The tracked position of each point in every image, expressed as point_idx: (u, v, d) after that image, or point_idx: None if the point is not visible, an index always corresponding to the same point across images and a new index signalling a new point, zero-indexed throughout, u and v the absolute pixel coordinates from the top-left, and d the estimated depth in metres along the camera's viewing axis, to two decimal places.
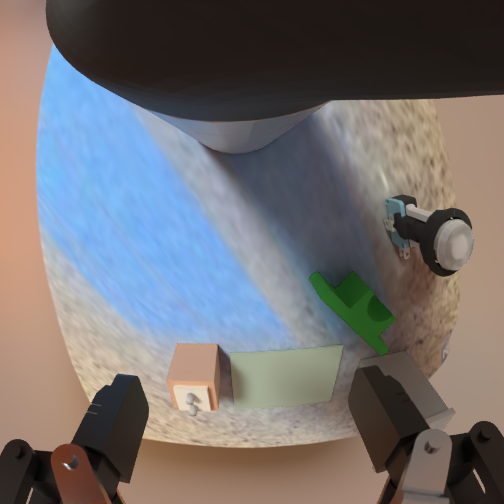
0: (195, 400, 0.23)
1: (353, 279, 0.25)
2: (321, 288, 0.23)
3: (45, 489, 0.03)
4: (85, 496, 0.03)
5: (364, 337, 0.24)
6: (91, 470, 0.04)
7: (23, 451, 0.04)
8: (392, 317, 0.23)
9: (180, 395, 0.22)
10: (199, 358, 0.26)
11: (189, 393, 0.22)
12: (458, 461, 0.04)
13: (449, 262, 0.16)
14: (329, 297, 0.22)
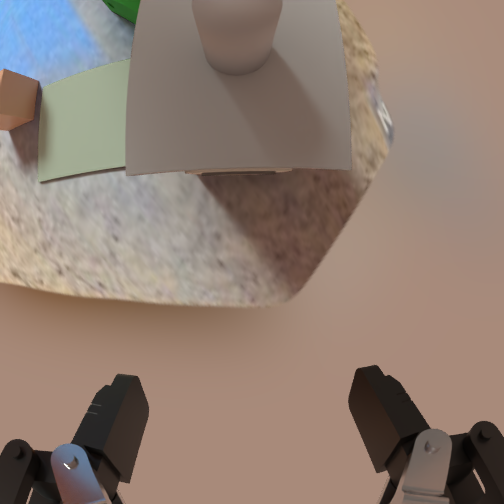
0: None
1: None
2: None
3: (45, 489, 0.03)
4: (85, 496, 0.03)
5: None
6: (91, 470, 0.04)
7: (23, 451, 0.04)
8: None
9: None
10: None
11: None
12: (458, 461, 0.04)
13: None
14: None
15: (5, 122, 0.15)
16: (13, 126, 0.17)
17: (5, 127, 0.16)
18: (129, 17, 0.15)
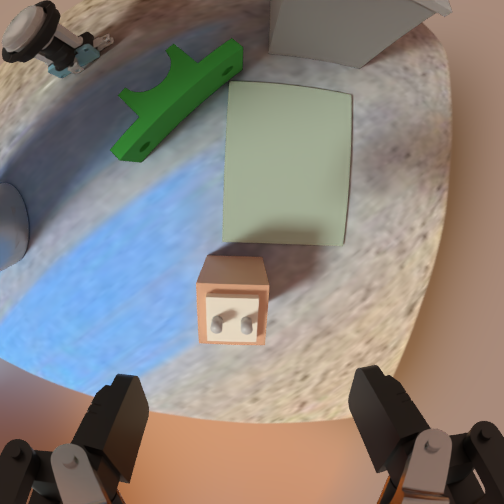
0: (230, 316, 0.17)
1: None
2: None
3: (45, 489, 0.03)
4: (85, 496, 0.03)
5: (192, 82, 0.15)
6: (91, 470, 0.04)
7: (23, 451, 0.04)
8: (168, 50, 0.14)
9: (219, 334, 0.17)
10: None
11: (212, 322, 0.17)
12: (458, 461, 0.04)
13: (23, 30, 0.07)
14: (119, 148, 0.16)
15: None
16: None
17: None
18: (174, 121, 0.18)
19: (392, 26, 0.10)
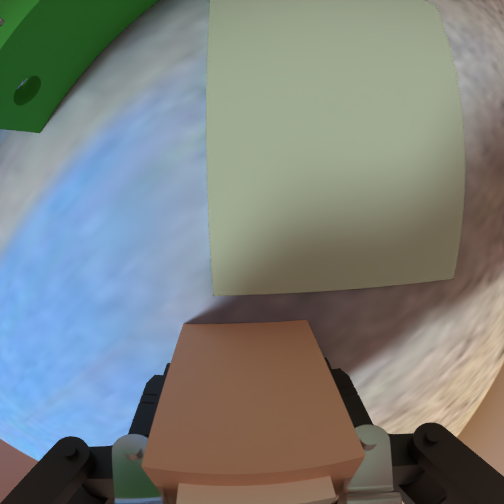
0: None
1: None
2: None
3: (93, 490, 0.04)
4: (142, 490, 0.04)
5: None
6: None
7: (77, 449, 0.04)
8: None
9: None
10: None
11: None
12: (399, 462, 0.05)
13: None
14: None
15: None
16: None
17: None
18: (93, 29, 0.05)
19: None
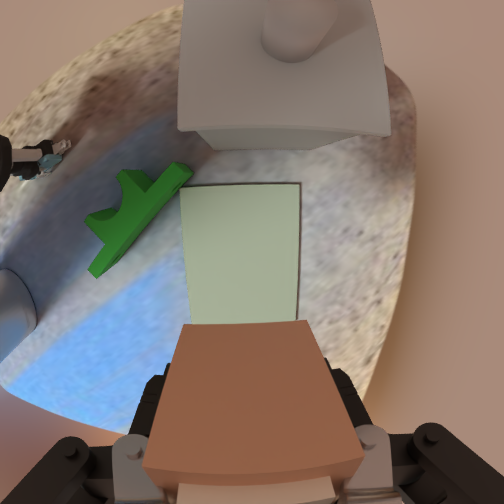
0: None
1: None
2: None
3: (94, 490, 0.04)
4: (142, 490, 0.04)
5: (143, 214, 0.18)
6: None
7: (78, 449, 0.04)
8: (118, 177, 0.17)
9: None
10: None
11: None
12: (399, 462, 0.05)
13: None
14: (94, 269, 0.19)
15: None
16: None
17: None
18: (137, 234, 0.22)
19: (327, 137, 0.14)
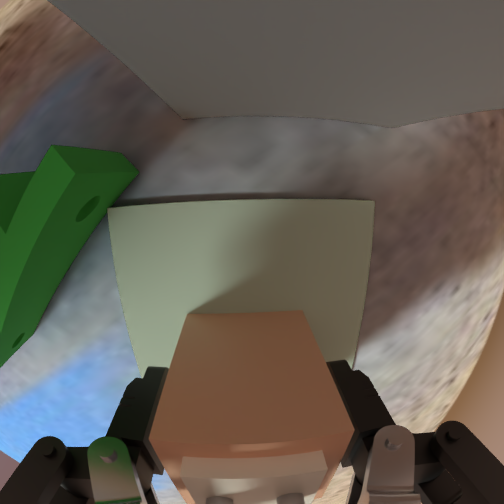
0: (250, 497, 0.05)
1: None
2: None
3: (74, 488, 0.04)
4: (119, 491, 0.04)
5: (11, 284, 0.05)
6: (133, 461, 0.05)
7: (56, 448, 0.04)
8: None
9: None
10: None
11: None
12: (423, 460, 0.04)
13: None
14: None
15: None
16: None
17: None
18: (40, 301, 0.09)
19: None
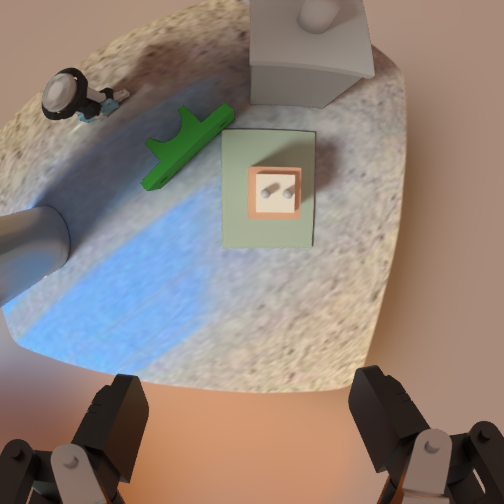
0: (274, 189, 0.22)
1: None
2: None
3: (45, 489, 0.03)
4: (85, 496, 0.03)
5: (197, 138, 0.23)
6: (91, 470, 0.04)
7: (23, 451, 0.04)
8: (180, 110, 0.22)
9: (266, 205, 0.23)
10: None
11: (261, 194, 0.22)
12: (458, 461, 0.04)
13: (62, 97, 0.16)
14: (147, 182, 0.24)
15: None
16: None
17: None
18: (184, 161, 0.27)
19: (336, 86, 0.19)
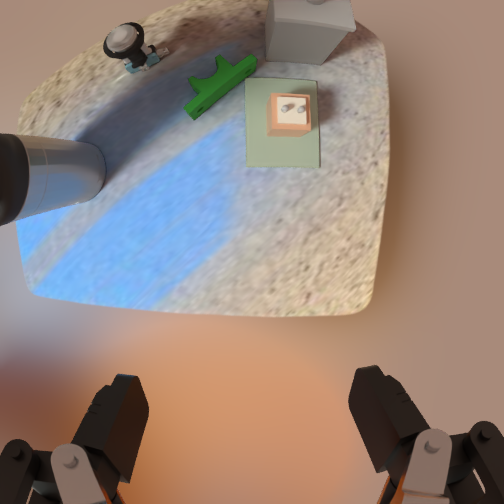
0: (291, 107, 0.27)
1: (194, 89, 0.31)
2: None
3: (45, 489, 0.03)
4: (85, 496, 0.03)
5: (230, 76, 0.28)
6: (91, 470, 0.04)
7: (23, 451, 0.04)
8: (217, 57, 0.27)
9: (285, 118, 0.27)
10: (268, 112, 0.31)
11: (281, 110, 0.27)
12: (458, 461, 0.04)
13: (127, 39, 0.21)
14: (188, 107, 0.29)
15: None
16: None
17: None
18: (217, 97, 0.31)
19: (330, 41, 0.23)
